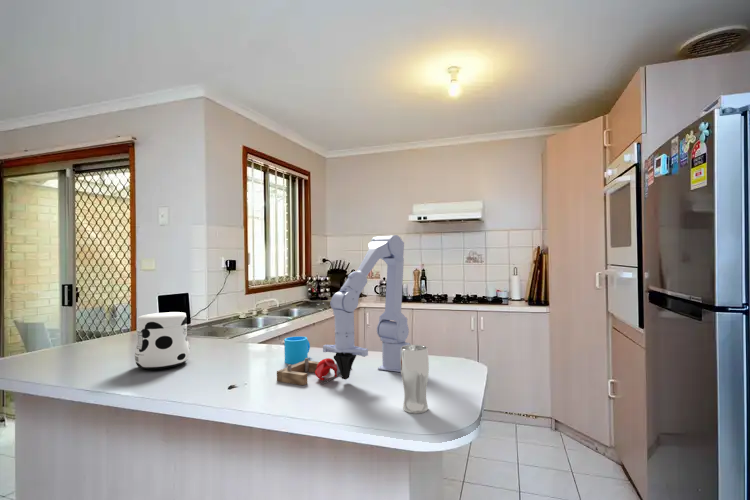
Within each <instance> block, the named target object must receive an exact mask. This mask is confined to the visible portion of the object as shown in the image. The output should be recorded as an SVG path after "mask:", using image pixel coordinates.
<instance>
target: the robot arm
mask: <svg viewBox="0 0 750 500" xmlns="http://www.w3.org/2000/svg"><path fill="white" fill-rule="evenodd" d="M367 245H368V246H367V247H368V250H367V251H366V254H365V256H364V257H363V259H362V261H361V262H360V264H359V266H358V268H357V270H356V271H352V272H350V273H349V274H348V275H347V279H346V280H345V282H344V283H343V284H342V286H341V287H340V289H339V291H337V292H335V293H333V295H332V297H331V300H330V301H329V303H330V304H329V305H330V308H331V309H332V311H333V315H334V339H335V340H334V343H335V344H324V345H322V352H323V353H334V355H333V360H334V362H335V363H337V365H338V367H339V370H340V373H341V375H340V376H341V379H342V380H347V379H349V378H350V375H351V370H352V369H351V368H352V366H353V364H354V361H355V359H356V358H357V356H361V357H367V356H369V349H368V348H365V347H360V346H357V345H356V346H355V310H356V309H357V308H358V306H359V299H360V295H361V293H362V291H363V290H364V288H365V287H366V285H367V283H368V278H367V276H368V275H369V274H370V272H371V271H372V270H373V269H374V267H375V266H376V264H377V263H378V261H379V260H382V261H383V262H384V263H385V264H386V265H387V267H386V283H385V284H386V285H385V287H386V288H385V304H384V312H383V313H381V315H380V316H379V320H378V324H377V325H376V334H377V336H378V337H379V338H380V341H381V343H382V344H381V350H382V351H381V352H382V364H381V365H380V366H379V367H378V366H377V370H380V371H381V370H382V371H387V372H388V371H391V372H398V373H401V368H400V356H401V347H402V346H405V345H412V344H411V343H410V342H406V340H407V339H408V336H409V333H410V330H409V324H408V318H407V317H406V316H405V315H404V314H403V312H402V306H403V305H402V302H403V283H404V265H405V261H404V260H405V259H404V255H405V254H404V250H405V242H404V241H403V240H402V238H401V237H400V236H399V235H398V234H393V235H382V236H381V235H380V236H379V235H376V236H373V237H372V238H371V240H370V242H369V243H368V244H367Z"/></svg>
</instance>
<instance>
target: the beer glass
mask: <svg viewBox="0 0 750 500" xmlns="http://www.w3.org/2000/svg"><path fill="white" fill-rule="evenodd" d="M428 350H429V349H428V346H426V345H424V344H423V345H422V344H411V345H405V346H402V347H401V356H400V368H401V372H400V374H401V381H402V386H403V392H404V394H403V395H404V398H403V404H402V405H403V406H402V409H403V411H404V412H406V413H409V414H413V415H414V414H418V415H419V414H424V413H426V412H427V411H428V410H429V406H428V400H427V386H428V380H429V371H430V361H429V351H428Z"/></svg>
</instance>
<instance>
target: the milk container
mask: <svg viewBox="0 0 750 500" xmlns="http://www.w3.org/2000/svg"><path fill="white" fill-rule="evenodd" d="M187 320H188V319H187V313H186V312H182V311H181V312H180V311H169V312H157V313H156V312H155V313H149V314H148V313H146V314H142V315H139V316H138V317H137V329H136V331H137V344H136V348H135V352H134V361H135V365H136V366H137V367H138V368H141V369H144V370H162V369H163V370H164V369H169V368H174V367H177V366H180V365H182V364H185V363H186V362H187V361H188V360H189V358H190V354H191V348H190V347H191V346H190V342H189V340H188V334H187V333H188V323H187V322H188V321H187Z"/></svg>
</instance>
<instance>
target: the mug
mask: <svg viewBox="0 0 750 500" xmlns="http://www.w3.org/2000/svg"><path fill="white" fill-rule="evenodd" d="M283 343H284V344H283V345H284V364H287V365H294V364H297V363H299V362H302V361H304V360H305V358H308V357H309V356H308V355H309V352H310V349H311V343H310V341H309V340H308V337H307V336H301V335H300V336H299V335H298V336H289V337H285V338H284V342H283ZM308 359H309V358H308Z"/></svg>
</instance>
